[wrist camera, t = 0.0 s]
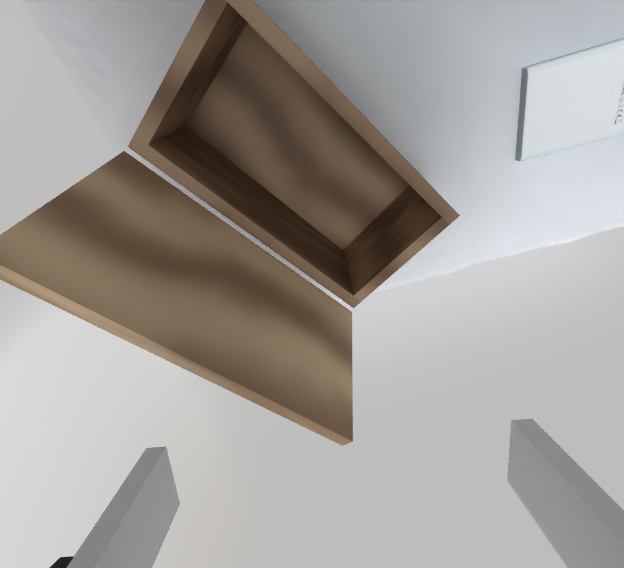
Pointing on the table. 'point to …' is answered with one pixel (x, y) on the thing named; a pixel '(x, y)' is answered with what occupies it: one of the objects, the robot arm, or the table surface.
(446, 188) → the table surface
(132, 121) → the table surface
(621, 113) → the external hard drive
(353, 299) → the walnut box
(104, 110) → the table surface
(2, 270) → the lid
